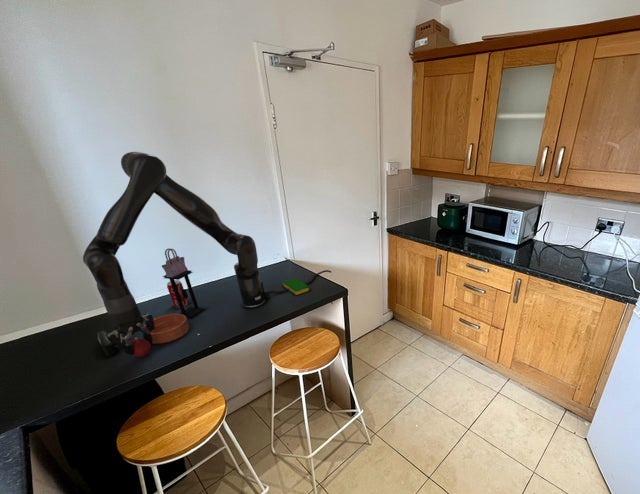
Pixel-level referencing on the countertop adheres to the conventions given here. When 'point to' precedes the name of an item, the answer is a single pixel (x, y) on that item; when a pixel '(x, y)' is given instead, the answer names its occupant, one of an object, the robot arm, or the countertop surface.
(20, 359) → the countertop surface
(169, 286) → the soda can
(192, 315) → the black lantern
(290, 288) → the dish sponge
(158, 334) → the bowl
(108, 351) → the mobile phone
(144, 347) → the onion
